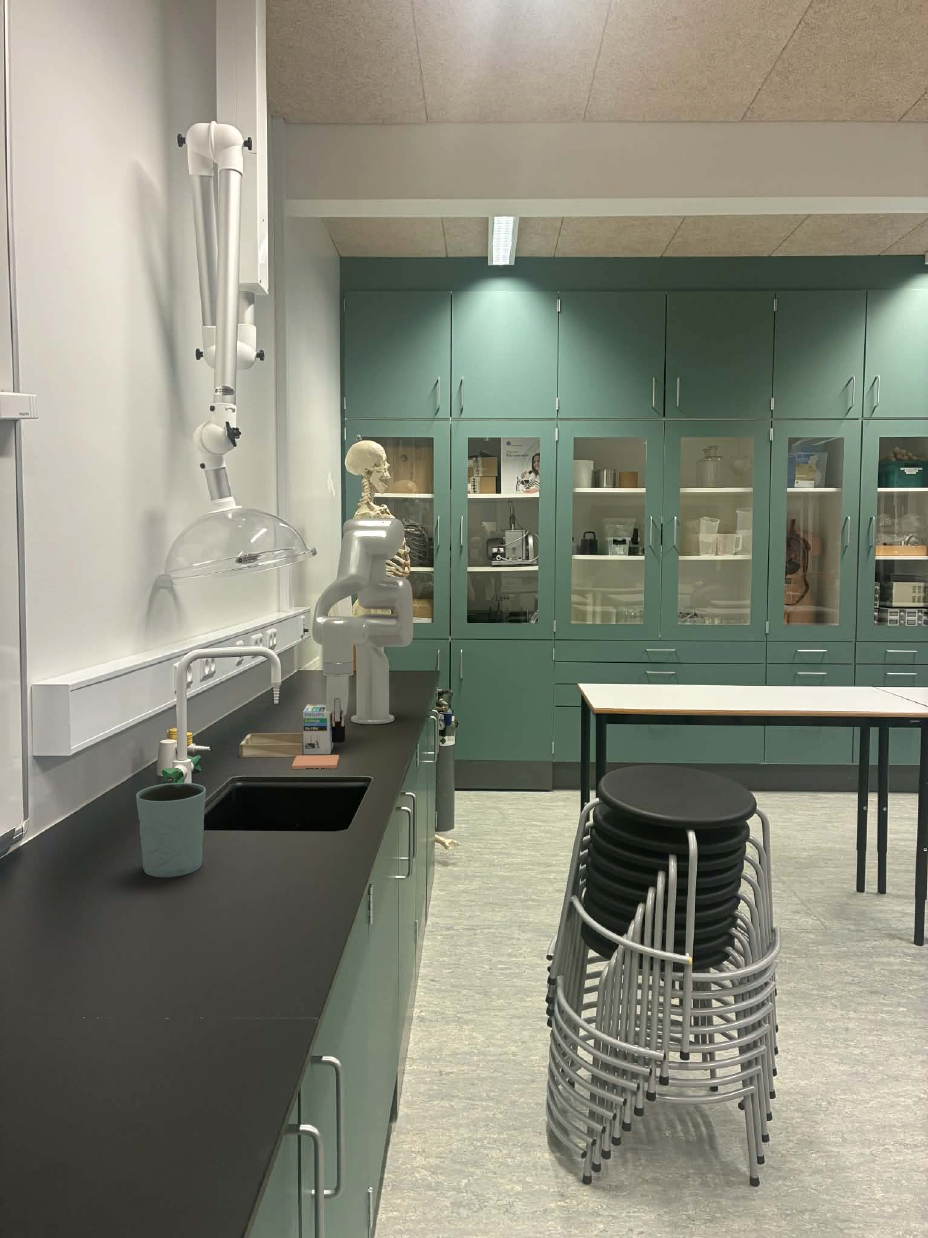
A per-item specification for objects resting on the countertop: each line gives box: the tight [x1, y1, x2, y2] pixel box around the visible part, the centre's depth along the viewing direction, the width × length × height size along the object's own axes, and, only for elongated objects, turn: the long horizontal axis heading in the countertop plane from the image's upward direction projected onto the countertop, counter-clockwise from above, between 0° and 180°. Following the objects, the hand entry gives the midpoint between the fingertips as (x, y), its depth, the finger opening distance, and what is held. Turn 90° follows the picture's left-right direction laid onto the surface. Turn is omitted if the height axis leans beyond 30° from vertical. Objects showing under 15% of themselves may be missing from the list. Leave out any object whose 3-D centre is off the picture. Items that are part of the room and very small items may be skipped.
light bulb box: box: [302, 703, 334, 755], centre depth 211 cm, size 11×7×11 cm, turn 5°
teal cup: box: [135, 782, 207, 878], centre depth 130 cm, size 10×10×12 cm
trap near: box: [291, 754, 340, 770], centre depth 197 cm, size 10×10×1 cm
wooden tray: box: [238, 732, 304, 759], centre depth 210 cm, size 14×15×3 cm
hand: (338, 741), depth 212 cm, fingers closed
